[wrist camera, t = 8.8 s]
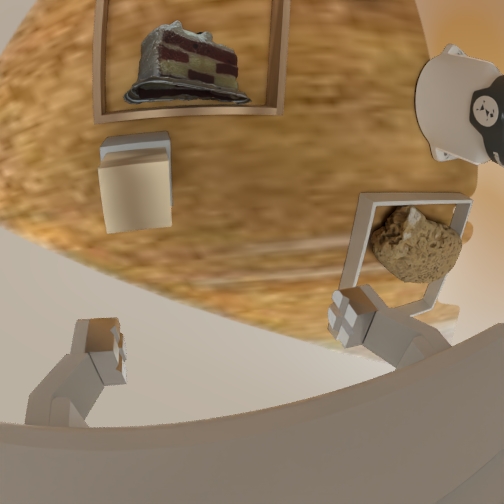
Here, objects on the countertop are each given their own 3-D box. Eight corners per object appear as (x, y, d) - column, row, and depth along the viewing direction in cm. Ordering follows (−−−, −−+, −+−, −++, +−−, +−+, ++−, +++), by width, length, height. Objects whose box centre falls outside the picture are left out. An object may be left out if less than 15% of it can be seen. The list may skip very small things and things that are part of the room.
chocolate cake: (258, 41, 27) (189, -10, 16) (257, 104, 28) (182, 72, 18) (182, 57, 31) (103, 28, 20) (179, 113, 32) (94, 99, 22)
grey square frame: (461, 193, 46) (473, 199, 44) (423, 301, 59) (432, 309, 56) (360, 193, 39) (373, 202, 37) (327, 328, 52) (336, 340, 49)
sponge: (352, 246, 46) (419, 298, 52) (382, 262, 38) (447, 315, 45) (393, 175, 44) (452, 239, 51) (428, 179, 37) (482, 250, 44)
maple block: (165, 146, 24) (168, 161, 20) (167, 201, 27) (172, 226, 23) (106, 152, 23) (97, 169, 19) (112, 207, 26) (107, 233, 22)
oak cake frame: (280, -36, 22) (292, -44, 19) (271, 111, 30) (283, 115, 28) (106, -40, 17) (103, -51, 14) (99, 120, 26) (94, 124, 23)
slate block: (167, 131, 28) (170, 140, 24) (169, 187, 31) (172, 206, 27) (107, 137, 27) (99, 147, 23) (112, 193, 30) (107, 213, 26)
